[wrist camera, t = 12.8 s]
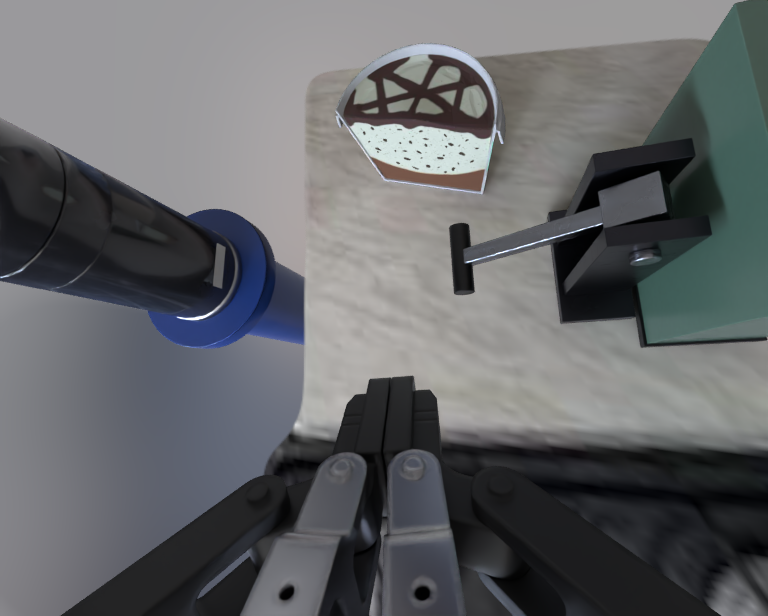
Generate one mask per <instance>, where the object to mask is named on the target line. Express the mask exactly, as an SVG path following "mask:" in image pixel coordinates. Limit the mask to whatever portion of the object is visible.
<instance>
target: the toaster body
mask: <svg viewBox="0 0 768 616" xmlns="http://www.w3.org/2000/svg"><path fill="white" fill-rule="evenodd" d="M687 138H692V139H693V144H694V149H695V154H696V156H695V157H694V158H693V159H692V161H691V162H690V163H689V164H688V165H687V166H686V167H685V168H684V169H683V170H682V171H681V173H680V174H679V175H678V176H677V177H676V178H675V179H674V180H673V181H672V182H671V183H670V184H669V186H670V192H671V197H672V202H673V207H674V213H675V218H676V219H680V218H688V217H696V216H704V215H708V216H709V220H710V225H711V230H712V235H711V236H710V237H708V238H707V239H705V240H704V241H702V242H701V243H699V244H698V245H696V246H694V247H693V248H691V249H690V250H688V251H687V252H685V253H684V254H682V255H681V256H679V257H678V258H676V259H675V260H673V261H671V262H670V263H668V264H667V265H665V266H664V267H662V268H661V269H659V270H658V271H656V272H655V273H653V274H652V275H650V276H648V277H647V278H645V279H644V280H642V281H641V282H639V283H638V284H636V285H635V286H633V287H632V288H631V290H632V296H633V302H634V308H635V314H636V321H637V327H638V333H639V339H640V345H641V347H642V348H643V347H661V346H680V345H699V344H718V343H737V342H755V341H765V340H767V337H768V0H747V1H743V2H739V3H735V4H734V5H733V7H732V9H731V10H730V12H729V13H728V15H727V16H726V18H725V19H724V21H723V22H722V24H721V25H720V27H719V28H718V30H717V31H716V33H715V35H714V36H713V38H712V39H711V41H710V42H709V44H708V45H707V47H706V48H705V50H704V51H703V53H702V55H701V56H700V58H699V59H698V61H697V62H696V64H695V65H694V67H693V68H692V70H691V71H690V73H689V74H688V76H687V78H686V79H685V81H684V82H683V84H682V85H681V87H680V88H679V90H678V91H677V93H676V94H675V96H674V98H673V99H672V101H671V102H670V104H669V105H668V107H667V108H666V110H665V111H664V113H663V114H662V116H661V118H660V119H659V121H658V122H657V124H656V125H655V127H654V128H653V130H652V131H651V133H650V134H649V136H648V137H647V139H646V141H645V142H644V144H643V145H642V146H645V145H651V144H657V143H663V142H669V141H675V140H681V139H687Z"/></svg>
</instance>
